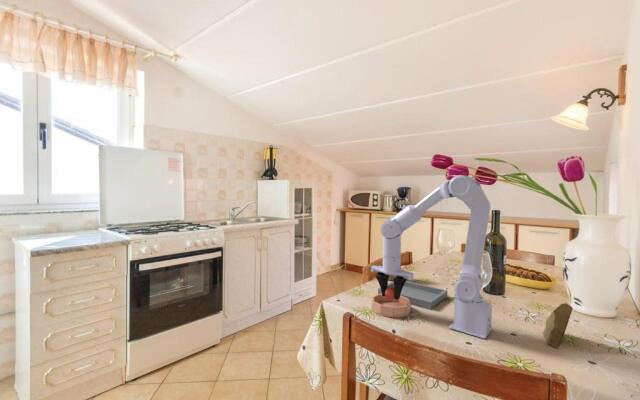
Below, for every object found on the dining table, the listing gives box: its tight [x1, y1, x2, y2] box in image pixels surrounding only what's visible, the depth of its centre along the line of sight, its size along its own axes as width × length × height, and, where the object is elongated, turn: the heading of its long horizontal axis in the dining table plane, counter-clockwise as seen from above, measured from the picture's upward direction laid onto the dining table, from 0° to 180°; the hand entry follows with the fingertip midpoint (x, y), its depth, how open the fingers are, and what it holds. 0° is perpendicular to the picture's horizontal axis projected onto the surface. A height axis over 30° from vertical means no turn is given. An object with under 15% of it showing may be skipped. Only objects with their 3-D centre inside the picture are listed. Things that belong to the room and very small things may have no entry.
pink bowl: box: [371, 293, 412, 319], centre depth 101 cm, size 12×13×3 cm
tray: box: [377, 280, 449, 311], centre depth 114 cm, size 20×16×2 cm
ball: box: [385, 287, 395, 299], centre depth 101 cm, size 4×4×4 cm
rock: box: [542, 302, 574, 349], centre depth 83 cm, size 11×9×10 cm
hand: (390, 297), depth 101 cm, fingers closed on ball, 4 cm apart
